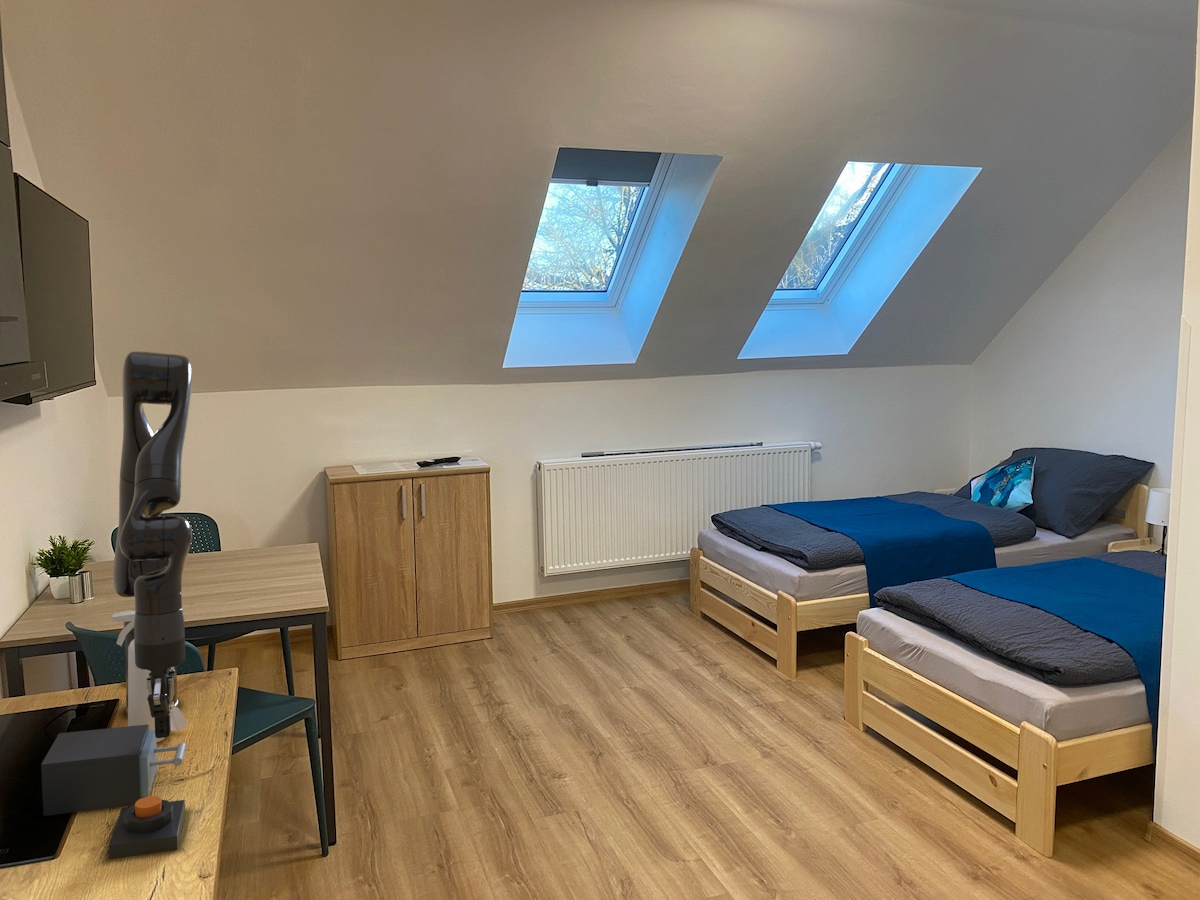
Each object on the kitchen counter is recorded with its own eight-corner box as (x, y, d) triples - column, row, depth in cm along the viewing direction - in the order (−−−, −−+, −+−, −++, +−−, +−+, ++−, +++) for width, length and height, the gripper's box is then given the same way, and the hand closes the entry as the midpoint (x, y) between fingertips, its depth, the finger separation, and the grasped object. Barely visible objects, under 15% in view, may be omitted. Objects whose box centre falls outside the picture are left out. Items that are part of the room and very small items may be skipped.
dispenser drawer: (188, 763, 157) (187, 726, 156) (181, 792, 147) (180, 752, 146) (75, 776, 151) (73, 738, 150) (60, 807, 141) (58, 766, 141)
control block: (122, 820, 140) (121, 796, 139) (185, 812, 143) (184, 788, 142) (109, 859, 129) (108, 833, 129) (177, 849, 132) (176, 824, 132)
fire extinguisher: (187, 741, 167) (184, 611, 164) (114, 749, 163) (109, 617, 160) (190, 726, 174) (186, 601, 171) (120, 734, 169) (115, 606, 166)
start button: (137, 808, 137) (136, 797, 136) (163, 805, 138) (162, 794, 138) (133, 820, 133) (132, 809, 133) (160, 817, 134) (159, 806, 134)
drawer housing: (150, 771, 155) (148, 724, 154) (139, 804, 145) (138, 753, 144) (61, 781, 151) (58, 733, 150) (43, 816, 140) (40, 764, 139)
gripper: (180, 646, 143) (183, 750, 145) (188, 622, 155) (191, 717, 157) (127, 650, 140) (131, 755, 142) (140, 625, 153) (144, 722, 155)
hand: (163, 735), depth 150 cm, fingers closed
